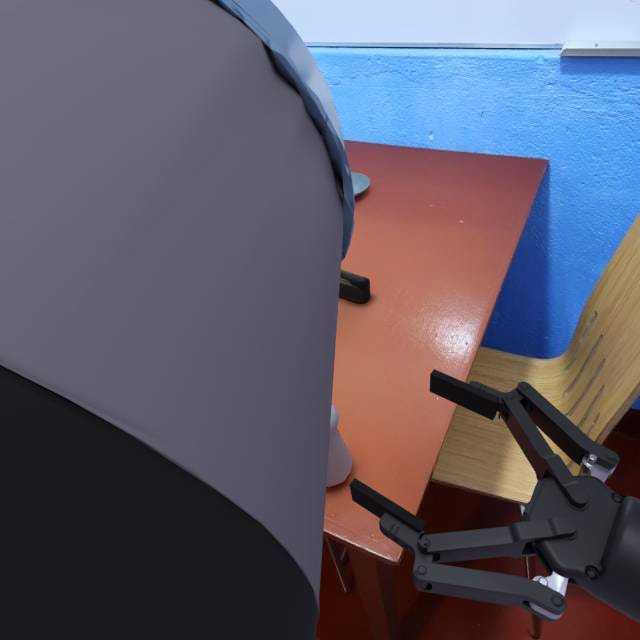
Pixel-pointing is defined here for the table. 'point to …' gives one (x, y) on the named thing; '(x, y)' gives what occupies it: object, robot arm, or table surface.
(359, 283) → the black stapler
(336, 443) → the salt shaker
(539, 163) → the table surface
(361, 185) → the saucer
